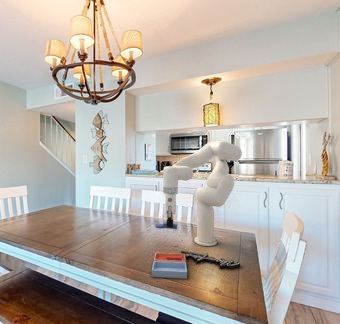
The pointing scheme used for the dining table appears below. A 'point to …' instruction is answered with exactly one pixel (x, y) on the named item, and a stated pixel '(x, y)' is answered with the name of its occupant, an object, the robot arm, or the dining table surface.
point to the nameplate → (210, 260)
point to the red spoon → (170, 258)
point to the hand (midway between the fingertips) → (169, 226)
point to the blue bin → (169, 269)
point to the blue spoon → (165, 226)
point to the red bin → (169, 255)
